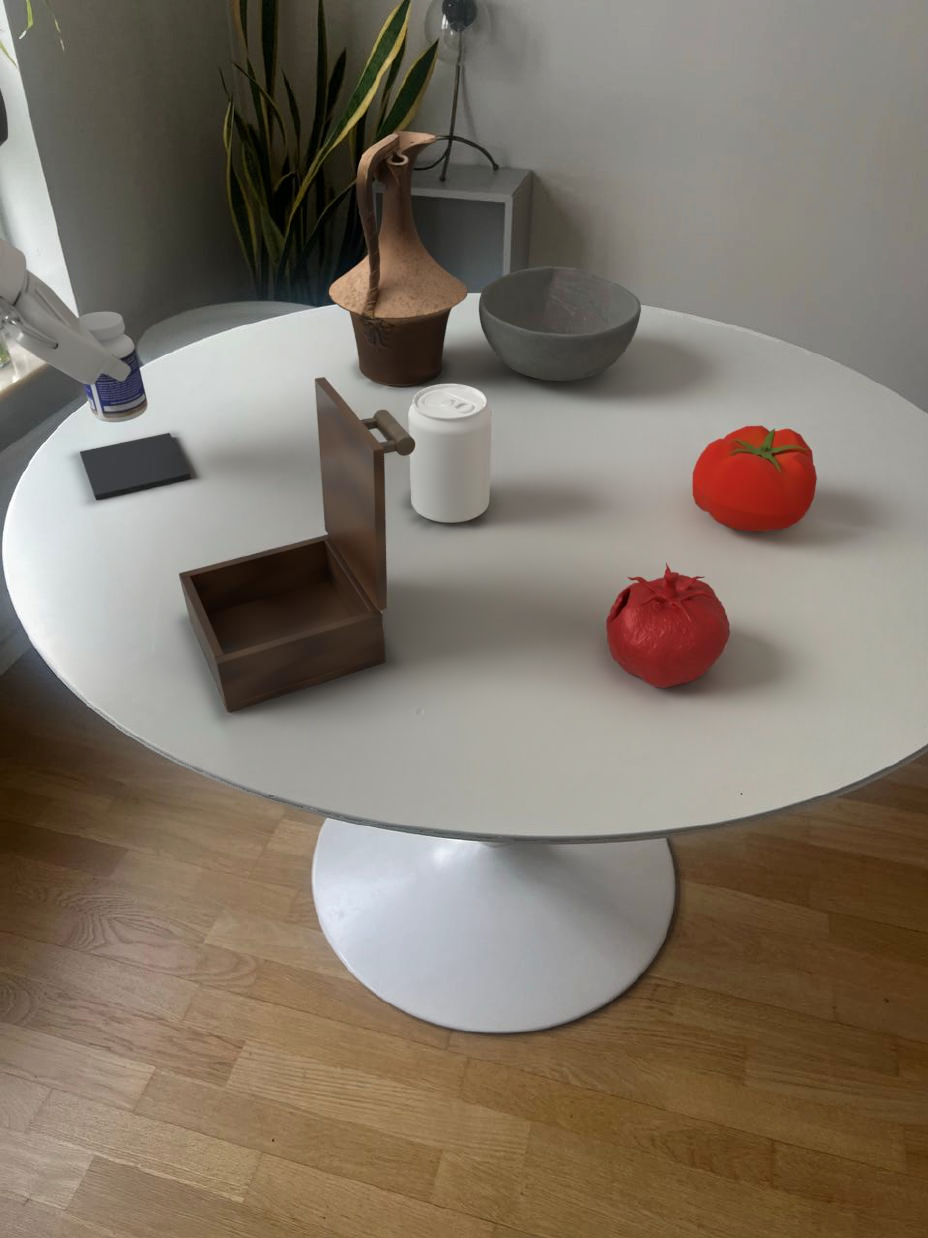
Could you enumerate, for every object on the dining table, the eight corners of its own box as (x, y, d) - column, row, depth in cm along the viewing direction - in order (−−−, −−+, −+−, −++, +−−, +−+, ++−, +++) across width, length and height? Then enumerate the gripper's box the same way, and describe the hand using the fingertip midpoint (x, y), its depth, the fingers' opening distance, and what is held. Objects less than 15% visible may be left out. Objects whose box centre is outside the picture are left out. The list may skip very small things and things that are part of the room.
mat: (95, 500, 97) (94, 495, 97) (80, 456, 104) (79, 451, 104) (191, 478, 101) (190, 473, 100) (170, 437, 108) (169, 432, 107)
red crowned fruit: (745, 670, 78) (769, 583, 72) (655, 717, 74) (673, 628, 68) (664, 607, 84) (680, 522, 78) (577, 646, 80) (587, 559, 74)
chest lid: (373, 450, 66) (437, 437, 67) (314, 378, 74) (372, 368, 76) (377, 611, 75) (433, 596, 77) (324, 530, 83) (376, 518, 85)
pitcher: (433, 410, 113) (429, 161, 95) (310, 386, 118) (283, 144, 100) (485, 353, 126) (490, 123, 107) (371, 333, 130) (358, 109, 112)
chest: (227, 712, 74) (216, 663, 71) (189, 620, 83) (178, 573, 79) (386, 662, 79) (382, 614, 75) (334, 580, 87) (329, 533, 84)
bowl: (452, 389, 117) (452, 311, 111) (509, 329, 132) (512, 257, 125) (607, 419, 111) (616, 339, 105) (649, 353, 126) (659, 279, 119)
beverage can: (442, 477, 101) (441, 373, 94) (504, 501, 98) (508, 395, 90) (395, 510, 96) (390, 404, 89) (458, 536, 93) (459, 428, 85)
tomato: (737, 564, 90) (756, 488, 84) (663, 499, 98) (676, 427, 93) (839, 532, 94) (863, 458, 88) (759, 473, 102) (777, 402, 97)
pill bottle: (159, 403, 100) (139, 312, 93) (128, 428, 95) (104, 334, 89) (113, 395, 101) (91, 304, 95) (80, 418, 97) (54, 326, 90)
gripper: (30, 290, 77) (167, 372, 88) (-27, 223, 90) (99, 301, 101) (-9, 353, 78) (131, 427, 89) (-59, 278, 91) (68, 350, 102)
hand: (113, 360), depth 95 cm, fingers closed on pill bottle, 6 cm apart
